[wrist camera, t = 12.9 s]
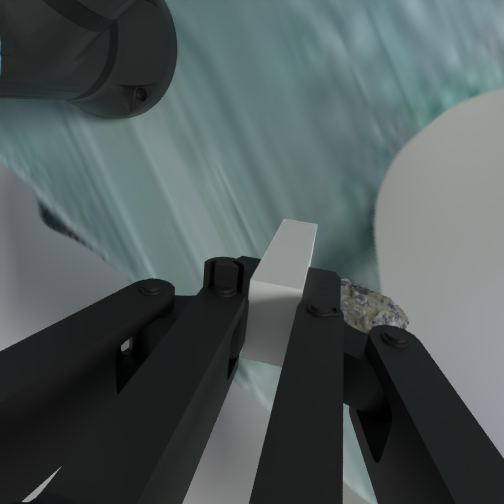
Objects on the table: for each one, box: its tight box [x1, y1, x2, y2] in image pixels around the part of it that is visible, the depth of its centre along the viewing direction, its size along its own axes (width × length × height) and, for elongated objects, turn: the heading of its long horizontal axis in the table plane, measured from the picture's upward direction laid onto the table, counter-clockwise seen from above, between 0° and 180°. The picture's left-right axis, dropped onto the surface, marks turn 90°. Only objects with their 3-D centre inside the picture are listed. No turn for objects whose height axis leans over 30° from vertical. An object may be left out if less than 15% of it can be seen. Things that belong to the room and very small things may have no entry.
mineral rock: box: [340, 278, 409, 334], centre depth 42 cm, size 13×11×10 cm
